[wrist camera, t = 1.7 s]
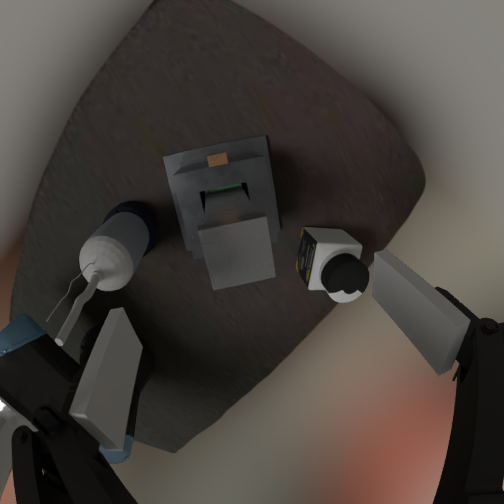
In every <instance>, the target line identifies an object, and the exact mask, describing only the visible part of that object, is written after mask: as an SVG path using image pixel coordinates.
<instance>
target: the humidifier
mask: <svg viewBox="0 0 504 504" xmlns="http://www.w3.org/2000/svg"><path fill="white" fill-rule="evenodd" d="M157 235H158V224H157V220H156V217H155V216H154V214H153V213H152V211H151V210H150V209H149V208H148V207H146V206H145V205H143V204H141V203H138V202H132V201H128V202H124V203H121V204H119V205H118V206H116V207H115V208H114V209H112V210H111V211H110V212H109V213H108V215H107V216H106V218H105V220H104V222H103V225H102V226H101V227H100V228H99V229H98V230H97V231H96V232H95V233H94V234H93V235H91V236H90V237H89V238H88V239H87V241H86V242H85V244H84V245H83V247H82V249H81V252H80V257H79V260H80V269H81V271H82V272H81V273H80V274H79V275H78V276H77V277H76V278H74V279H73V280H72V281H71V283H70V286H69V290H68V293H69V291H70V287H71V284H72V282H73V281H74V280H75V279H77V278H78V277H79V276H80V275H81V274H82V273H83V276H84V277H85V278H86V280H87V281H88V282H89V284H88V286H87V288H86V289H85V291H84V292H83V293H82V294H80V295H79V296H78V297H77V298H76V300H75V302H74V305H73V307H72V310H71V312H70V314H69V316H68V317H67V319H66V321H65V323H64V325H63V326H62V328H61V330H60V332H59V334H58V336H57V337H56V339H55V342H56V343H57V344H58V345H59V346H62V345H63V344H64V342H65V340H66V338H67V337H68V335H69V333H70V331H71V329H72V327H73V326H74V324H75V322H76V320H77V319H78V317H79V314H80V312H81V310H82V307H83V304H84V303H85V302H87V301H88V300H89V299H90V298H91V297H92V295H93V293H94V292H95V290H96V288H98V289H100V290H103V291H113V290H118V289H120V288H122V287H123V286H125V285H126V284H127V283H128V282H129V280H130V279H131V278H132V276H133V274H134V272H135V270H136V268H137V266H138V264H139V262H140V260H141V258H142V257H143V256H145V255H146V254H147V253H148V252H149V251H150V250H151V248H152V247H153V245H154V243H155V240H156V238H157ZM68 293H67V294H66V296H67V295H68ZM66 296H64V297H63V298H62V299H61V300H60V302H61V301H62V300H63V299H64V298H65V297H66ZM60 302H59V303H58V305H59V304H60ZM58 305H57V306H56V307H55V309H54V310H53V312H54V311H55V310H56V308H57V307H58ZM53 312H52V313H51V315H52V314H53ZM51 315H50V316H49V317H48V319H47V320H46V321H48V320H49V318H50V317H51Z"/></svg>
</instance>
